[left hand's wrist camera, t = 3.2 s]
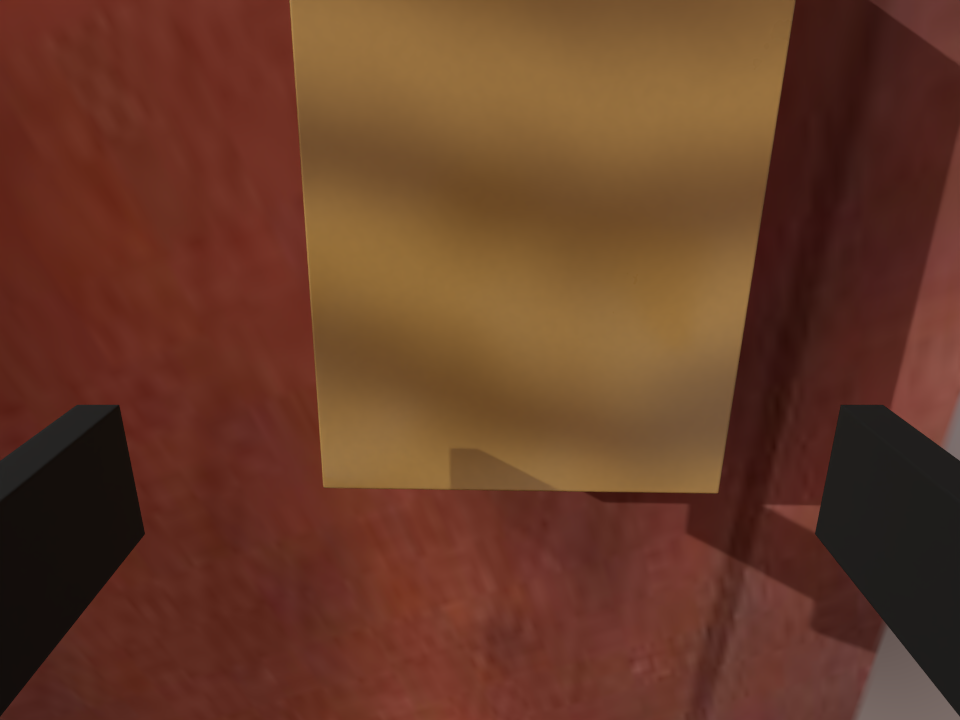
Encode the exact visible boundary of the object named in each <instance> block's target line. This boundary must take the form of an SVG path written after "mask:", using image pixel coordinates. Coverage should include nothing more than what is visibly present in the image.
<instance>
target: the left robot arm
mask: <svg viewBox="0 0 960 720" xmlns="http://www.w3.org/2000/svg"><path fill="white" fill-rule="evenodd" d="M144 534H145V532H144V527H143V522H142V517H141V512H140V507H139V502H138V497H137V492H136V487H135V482H134V477H133V472H132V467H131V462H130V457H129V452H128V447H127V442H126V437H125V432H124V427H123V422H122V417H121V412H120V407H119V405H76V406H75V407H74V408H72V409H71V410H69V411H68V412H67V413H65V414H64V415H63V416H61V417H60V418H58V419H57V420H56V421H54V422H53V423H52V424H50V425H49V426H47V427H46V428H45V429H43V430H42V431H41V432H39V433H38V434H36V435H35V436H34V437H32V438H31V439H30V440H28V441H27V442H26V443H24V444H23V445H21V446H20V447H19V448H17V449H16V450H15V451H13V452H12V453H10V454H9V455H8V456H6V457H5V458H4V459H2V460H1V461H0V716H1V715H2V714H3V712H4V711H5V710H6V708H7V707H8V706H9V705H10V703H11V702H12V701H13V700H14V698H15V697H16V696H17V695H18V693H19V692H20V691H21V690H22V688H23V687H24V686H25V685H26V683H27V682H28V681H29V679H30V678H31V677H32V676H33V674H34V673H35V672H36V671H37V669H38V668H39V667H40V666H41V664H42V663H43V662H44V661H45V659H46V658H47V657H48V656H49V654H50V653H51V652H52V650H53V649H54V648H55V647H56V645H57V644H58V643H59V642H60V640H61V639H62V638H63V637H64V635H65V634H66V633H67V632H68V630H69V629H70V628H71V627H72V625H73V624H74V623H75V621H76V620H77V619H78V618H79V616H80V615H81V614H82V613H83V611H84V610H85V609H86V608H87V606H88V605H89V604H90V603H91V601H92V600H93V599H94V597H95V596H96V595H97V594H98V592H99V591H100V590H101V589H102V587H103V586H104V585H105V584H106V582H107V581H108V580H109V579H110V577H111V576H112V575H113V574H114V572H115V571H116V570H117V568H118V567H119V566H120V565H121V563H122V562H123V561H124V560H125V558H126V557H127V556H128V555H129V553H130V552H131V551H132V550H133V548H134V547H135V546H136V545H137V543H138V542H139V541H140V539H141V538H142V537H143V536H144ZM815 534H816V536H817V537H818V538H819V539H820V541H821V542H822V543H823V545H824V546H825V547H826V548H827V550H828V551H829V552H830V553H831V555H832V556H833V557H834V558H835V560H836V561H837V562H838V563H839V565H840V566H841V567H842V568H843V570H844V571H845V572H846V574H847V575H848V576H849V577H850V579H851V580H852V581H853V582H854V584H855V585H856V586H857V587H858V589H859V590H860V591H861V592H862V594H863V595H864V596H865V597H866V599H867V600H868V601H869V603H870V604H871V605H872V606H873V608H874V609H875V610H876V611H877V613H878V614H879V615H880V616H881V618H882V619H883V620H884V621H885V623H886V624H887V625H888V627H889V628H890V629H891V630H892V632H893V633H894V634H895V635H896V637H897V638H898V639H899V640H900V642H901V643H902V644H903V645H904V647H905V648H906V649H907V650H908V652H909V653H910V654H911V655H912V657H913V658H914V659H915V661H916V662H917V663H918V664H919V666H920V667H921V668H922V669H923V671H924V672H925V673H926V674H927V676H928V677H929V678H930V679H931V681H932V682H933V683H934V685H935V686H936V687H937V688H938V690H939V691H940V692H941V693H942V695H943V696H944V697H945V698H946V700H947V701H948V702H949V703H950V705H951V706H952V707H953V708H954V710H955V711H956V712H957V713H958V715H959V716H960V461H959V460H958V459H956V458H955V457H954V456H952V455H951V454H950V453H948V452H947V451H945V450H944V449H943V448H941V447H940V446H939V445H937V444H936V443H934V442H933V441H932V440H930V439H929V438H928V437H926V436H925V435H924V434H922V433H921V432H919V431H918V430H917V429H915V428H914V427H913V426H911V425H910V424H908V423H907V422H906V421H904V420H903V419H902V418H900V417H899V416H897V415H896V414H895V413H893V412H892V411H891V410H889V409H888V408H886V407H885V406H884V405H841V407H840V412H839V417H838V422H837V427H836V432H835V437H834V442H833V447H832V452H831V457H830V462H829V467H828V472H827V477H826V482H825V487H824V492H823V497H822V502H821V507H820V512H819V517H818V522H817V527H816V532H815Z"/></svg>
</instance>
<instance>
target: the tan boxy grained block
mask: <svg viewBox="0 0 960 720" xmlns="http://www.w3.org/2000/svg"><path fill="white" fill-rule="evenodd" d="M289 1H290V15H291V29H292V44H293V58H294V72H295V87H296V101H297V115H298V130H299V144H300V158H301V173H302V187H303V201H304V216H305V230H306V244H307V259H308V273H309V287H310V302H311V316H312V330H313V345H314V359H315V373H316V388H317V402H318V416H319V431H320V445H321V459H322V474H323V486H324V488H371V489H441V490H511V491H581V492H650V493H718V491H719V485H720V478H721V472H722V466H723V459H724V453H725V447H726V440H727V434H728V428H729V421H730V415H731V409H732V402H733V396H734V389H735V383H736V377H737V370H738V364H739V358H740V351H741V345H742V339H743V332H744V326H745V320H746V313H747V307H748V300H749V294H750V288H751V281H752V275H753V269H754V262H755V256H756V250H757V243H758V237H759V231H760V224H761V218H762V211H763V205H764V199H765V192H766V186H767V180H768V173H769V167H770V161H771V154H772V148H773V142H774V135H775V129H776V122H777V116H778V110H779V103H780V97H781V91H782V84H783V78H784V72H785V65H786V59H787V53H788V46H789V40H790V33H791V27H792V21H793V14H794V8H795V2H796V0H289Z"/></svg>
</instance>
